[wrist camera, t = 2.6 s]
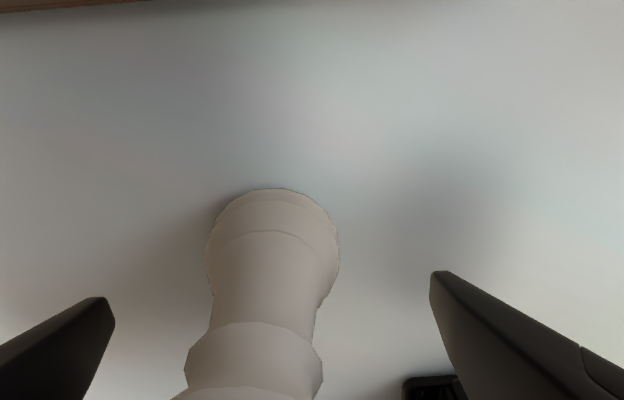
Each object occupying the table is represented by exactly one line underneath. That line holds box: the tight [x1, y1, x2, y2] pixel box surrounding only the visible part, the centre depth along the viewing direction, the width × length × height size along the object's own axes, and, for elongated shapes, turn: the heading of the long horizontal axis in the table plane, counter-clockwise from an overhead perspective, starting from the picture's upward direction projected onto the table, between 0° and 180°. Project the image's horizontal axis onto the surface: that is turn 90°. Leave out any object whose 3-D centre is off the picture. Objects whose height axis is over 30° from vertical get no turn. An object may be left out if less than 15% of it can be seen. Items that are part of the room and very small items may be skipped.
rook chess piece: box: [171, 188, 339, 400], centre depth 8 cm, size 4×4×8 cm
